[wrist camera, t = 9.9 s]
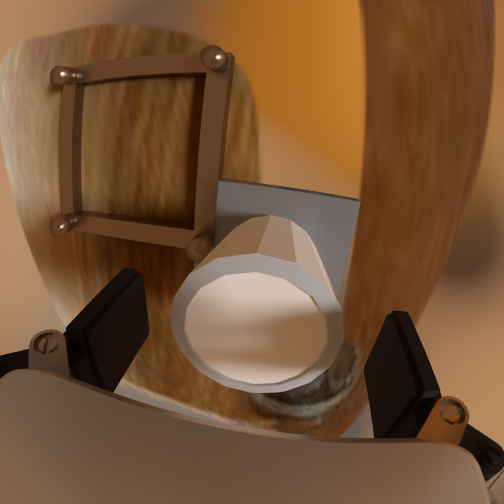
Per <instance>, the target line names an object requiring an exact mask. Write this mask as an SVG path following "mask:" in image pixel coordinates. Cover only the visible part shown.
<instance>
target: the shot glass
mask: <svg viewBox="0 0 504 504" xmlns="http://www.w3.org/2000/svg"><path fill="white" fill-rule="evenodd" d="M171 328H172V331H173V334H174V336H175V339H176V341H177V344H178V346H179V349H180V351H181V352H182V353H183V354H184V356H185V357H186V358H187V359H188V360H189V361H190V362H191V363H192V364H193V365H194V366H195V367H196V369H197V370H198V371H199V372H201V373H203V374H204V375H206V376H208V377H210V378H211V379H213V380H215V381H217V382H218V383H220V384H222V385H224V386H227V387H231V388H235V389H239V390H243V391H247V392H252V393H267V392H284V391H287V390H290V389H293V388H296V387H298V386H301V385H304V384H307V383H310V382H311V381H312V380H314V379H315V378H316V377H317V376H319V375H320V374H321V373H322V372H324V371H325V370H326V369H327V368H328V367H330V366H331V365H332V363H333V361H334V359H335V357H336V355H337V353H338V351H339V349H340V347H341V345H342V343H343V341H344V334H343V312H342V309H341V307H340V304H339V302H338V299H337V297H336V294H335V292H334V289H333V287H332V285H331V282H330V280H329V277H328V275H327V273H326V270H325V268H324V265H323V263H322V261H321V258H320V256H319V254H318V252H317V249H316V247H315V245H314V244H313V242H312V240H311V239H310V237H309V235H308V234H307V232H306V231H305V230H304V229H302V228H301V227H299V226H298V225H297V224H295V223H294V222H293V221H291V220H288V219H284V218H281V217H276V216H272V215H269V216H261V217H254V218H250V219H249V220H247V221H245V222H244V223H242V224H240V225H239V226H237V227H235V228H234V229H233V230H232V231H231V232H230V233H229V234H228V235H227V236H226V237H225V238H224V239H223V240H222V241H221V242H220V243H219V244H218V245H217V246H216V247H215V248H214V249H213V250H212V251H211V252H210V253H209V254H208V255H207V256H206V257H205V258H204V259H203V260H202V261H201V263H200V264H199V265H198V266H197V267H196V268H195V269H194V270H193V271H192V272H191V273H190V274H189V275H188V276H187V278H186V279H185V281H184V282H183V284H182V285H181V287H180V289H179V290H178V292H177V293H176V295H175V296H174V298H173V300H172V313H171Z"/></svg>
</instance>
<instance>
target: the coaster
mask: <svg viewBox="0 0 504 504" xmlns="http://www.w3.org/2000/svg"><path fill="white" fill-rule="evenodd" d="M359 207H360V201H359V200H358V199H356V198H350V197H344V196H339V195H333V194H327V193H322V192H316V191H310V190H303V189H297V188H290V187H283V186H276V185H268V184H262V183H254V182H246V181H237V180H229V179H221V180H219V184H218V197H217V210H216V224H215V239H214V248H215V247H216V246H217V245H218V244H219V243H220V242H221V241H222V240H223V239H224V238H225V237H226V236H227V235H228V234H229V233H230V232H231V231H232V230H233V229H234V228H235V227H237V226H239V225H240V224H242V223H244V222H245V221H247V220H249V219H250V218H254V217H261V216H269V215H272V216H276V217H281V218H284V219H288V220H291V221H293V222H294V223H295V224H297V225H298V226H299V227H301V228H302V229H304V230H305V231H306V232H307V234H308V235H309V237H310V239H311V240H312V242H313V244H314V245H315V247H316V249H317V252H318V254H319V256H320V258H321V261H322V263H323V265H324V268H325V270H326V273H327V275H328V277H329V280H330V282H331V285H332V287H333V289H334V292H335V294H336V297H337V298H338V294H339V290H340V287H341V283H342V280H343V276H344V272H345V268H346V264H347V260H348V256H349V251H350V248H351V243H352V239H353V235H354V230H355V226H356V221H357V216H358V212H359ZM209 253H210V252H209ZM209 253H208V254H209ZM208 254H207V255H208ZM200 263H201V261H200V262H194V269H195V268H196V267H197V266H198V265H199V264H200Z"/></svg>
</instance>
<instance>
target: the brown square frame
mask: <svg viewBox="0 0 504 504" xmlns="http://www.w3.org/2000/svg"><path fill="white" fill-rule="evenodd" d="M234 59H235V57H234V55H233V54H232V53H225V52H224V51H223V50H222V49H221V48H220V47H218V46H215V45H211V46H207V47H205V48H204V49H203V50H202V51H201V53H174V54H160V55H148V56H139V57H131V58H123V59H116V60H110V61H104V62H98V63H93V64H88V65H83V66H78V67H74V68H70V67H63V66H56V67H54V68H53V70H52V71H51V73H50V82H51V83H52V84H63V94H62V106H61V122H60V186H61V203H62V215H63V216H61V217H59V218H57V219H55V220H53V221H52V222H51V223H50V231H51V233H52V234H53V236H55V237H57V238H58V237H60V236H62V235H64V234H65V233H67V232H69V231H71V230H72V231H78V232H84V233H91V234H97V235H103V236H109V237H115V238H122V239H128V240H134V241H141V242H147V243H153V244H160V245H166V246H172V247H179V248H185V252H186V255H187V257H188V258H189V259H190V260H192V261H194V262H200V261H202V260H203V259H204V258H205V257H206V256H207V254H208V253H209V252H211V251H212V250H213V249H214V239H215V224H216V210H217V197H218V184H219V180H221V179H222V173H223V162H224V151H225V141H226V130H227V121H228V111H229V102H230V93H231V84H232V76H233V67H234ZM190 75H205V76H206V81H205V90H204V99H203V109H202V119H201V130H200V142H199V154H198V168H197V183H196V200H195V220H194V225H192V224H185V223H177V222H170V221H162V220H154V219H146V218H139V217H131V216H122V215H114V214H106V213H98V212H89V211H82V195H81V127H82V110H83V97H84V87H85V84H91V83H98V82H105V81H113V80H121V79H131V78H143V77H159V76H190Z"/></svg>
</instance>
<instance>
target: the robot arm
mask: <svg viewBox="0 0 504 504" xmlns="http://www.w3.org/2000/svg"><path fill="white" fill-rule="evenodd" d="M148 334H149V323H148V315H147V307H146V297H145V288H144V278H143V275H141V274H140V272H139V271H138V270H134V269H130V268H124V269H122V270H121V271H120V272H119V273H118V274H117V275H116V276H115V277H114V278H113V279H112V280H111V281H110V282H109V283H108V284H107V285H106V286H105V287H104V288H103V289H102V290H101V291H100V292H99V293H98V294H97V295H96V296H95V297H94V298H93V299H92V300H91V301H90V303H89V304H88V305H87V306H86V307H85V308H84V309H83V310H82V311H81V312H80V313H79V314H78V315H77V316H76V317H75V318H74V319H73V320H72V322H71V323H70V324H69V325H68V326H67V327H66V331H65V332H64V333H63V334H62V333H61V332H59V331H58V330H52V329H51V330H44V331H41V332H39V333H37V334H36V335H35V336H34V337H33V338H32V339H31V341H30V344H29V349H27V350H22V351H18V352H14V353H9V354H5V355H1V356H0V504H504V451H503V449H502V447H501V446H500V445H499V444H497V443H496V442H494V441H493V440H491V439H490V438H488V437H487V436H485V435H484V434H483V433H481V432H480V431H478V430H476V429H475V428H474V427H472V426H471V425H469V424H468V420H469V412H468V409H467V407H466V406H465V404H464V403H463V402H462V401H461V400H459V399H458V398H455V397H452V396H445V397H442V396H441V393H440V388H439V385H438V383H437V380H436V377H435V375H434V372H433V370H432V367H431V365H430V362H429V360H428V357H427V355H426V352H425V350H424V348H423V345H422V343H421V340H420V338H419V336H418V334H417V331H416V329H415V327H414V324H413V322H412V320H411V318H410V316H409V314H408V312H403V311H395V310H394V311H392V313H391V314H388V315H387V316H386V318H385V321H384V323H383V326H382V328H381V330H380V333H379V335H378V337H377V340H376V342H375V344H374V346H373V349H372V351H371V353H370V355H369V357H368V359H367V361H366V364H365V367H364V374H365V380H366V386H367V392H368V398H369V404H370V411H371V418H372V424H373V432H374V438H340V437H321V436H308V435H298V434H288V433H280V432H272V431H265V430H258V429H252V428H246V427H240V426H234V425H229V424H224V423H219V422H214V421H209V420H205V419H200V418H196V417H192V416H188V415H184V414H180V413H176V412H173V411H169V410H165V409H162V408H158V407H155V406H151V405H148V404H145V403H142V402H139V401H135V400H132V399H130V398H127V397H124V396H121V395H118V394H115V393H113V392H114V390H115V389H116V387H117V385H118V384H119V382H120V380H121V379H122V377H123V375H124V374H125V372H126V371H127V369H128V367H129V366H130V364H131V362H132V361H133V359H134V357H135V356H136V354H137V353H138V351H139V349H140V348H141V346H142V345H143V343H144V341H145V340H146V338H147V336H148Z"/></svg>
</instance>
